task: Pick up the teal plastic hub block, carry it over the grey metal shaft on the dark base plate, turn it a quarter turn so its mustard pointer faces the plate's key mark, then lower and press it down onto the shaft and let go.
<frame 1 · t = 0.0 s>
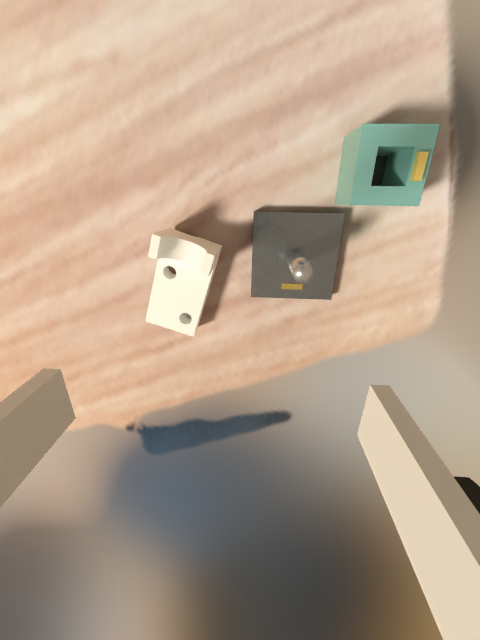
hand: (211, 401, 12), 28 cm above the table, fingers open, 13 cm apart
shaft base: (293, 256, 36), on the table
hub: (369, 172, 32), on the table
bracket: (186, 280, 39), on the table
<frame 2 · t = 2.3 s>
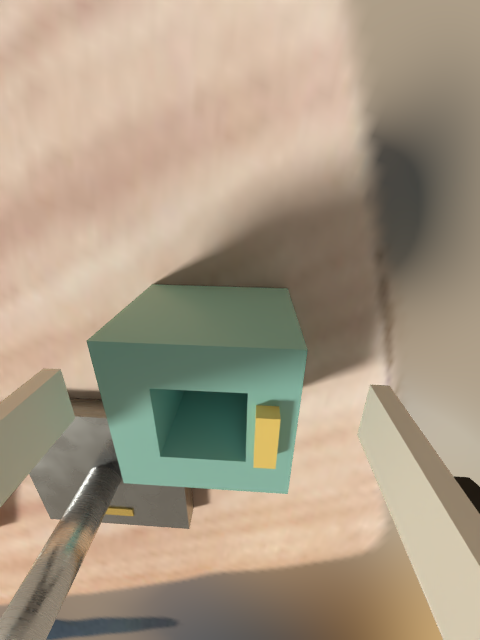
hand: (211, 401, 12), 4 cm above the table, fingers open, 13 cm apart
shaft base: (115, 457, 20), on the table
hub: (220, 345, 15), on the table
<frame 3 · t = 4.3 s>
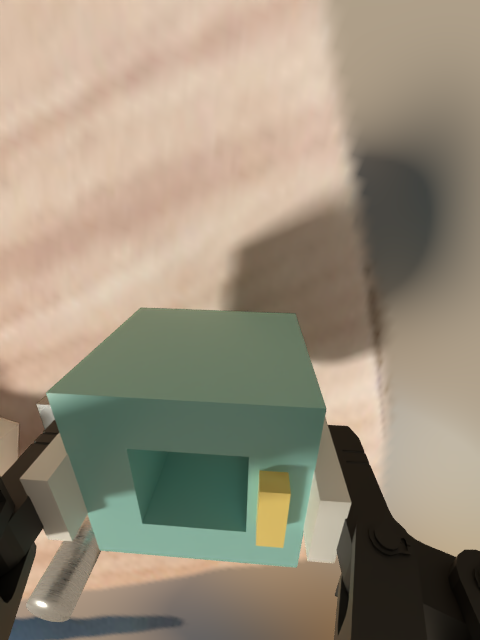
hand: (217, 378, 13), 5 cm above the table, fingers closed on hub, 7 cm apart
shaft base: (133, 450, 22), on the table
hub: (218, 375, 14), point 4 cm above the table, touching gripper
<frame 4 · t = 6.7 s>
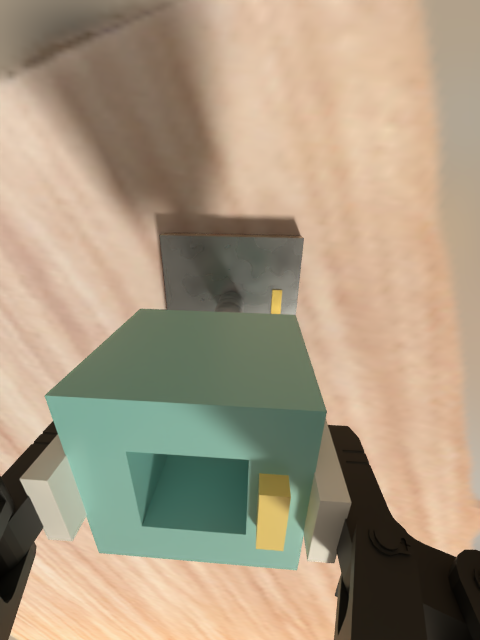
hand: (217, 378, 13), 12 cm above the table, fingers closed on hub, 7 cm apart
shaft base: (232, 298, 24), on the table
hub: (218, 376, 13), point 12 cm above the table, touching gripper
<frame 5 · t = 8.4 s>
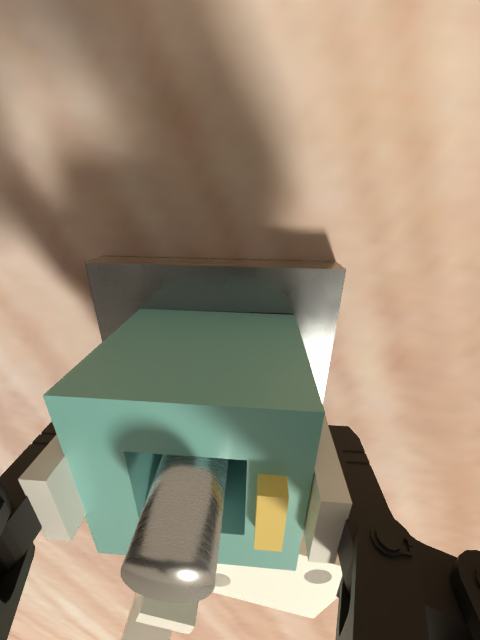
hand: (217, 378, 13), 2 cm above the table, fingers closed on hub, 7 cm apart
shaft base: (219, 358, 15), on the table
hub: (217, 376, 13), point 2 cm above the table, touching gripper, shaft base
bracket: (249, 513, 21), on the table
when the fingers open (2 cm above the table, at t = 8.9 s): hub stays where it is, resting on shaft base.
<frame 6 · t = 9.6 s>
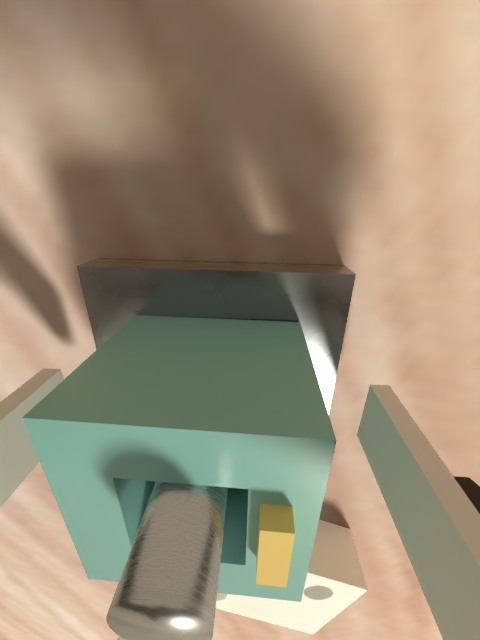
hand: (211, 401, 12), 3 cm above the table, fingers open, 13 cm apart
shaft base: (219, 366, 14), on the table
hub: (217, 386, 13), point 2 cm above the table, touching shaft base
bracket: (247, 523, 20), on the table
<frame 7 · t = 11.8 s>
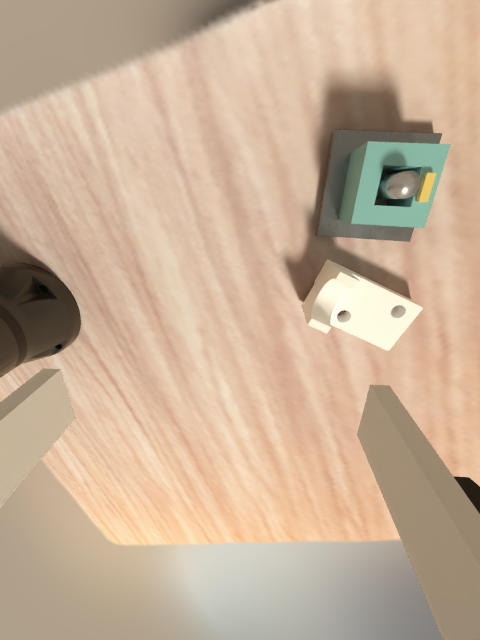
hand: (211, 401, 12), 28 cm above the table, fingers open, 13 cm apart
shaft base: (370, 189, 32), on the table
hub: (375, 189, 31), point 2 cm above the table, touching shaft base
bracket: (353, 300, 38), on the table
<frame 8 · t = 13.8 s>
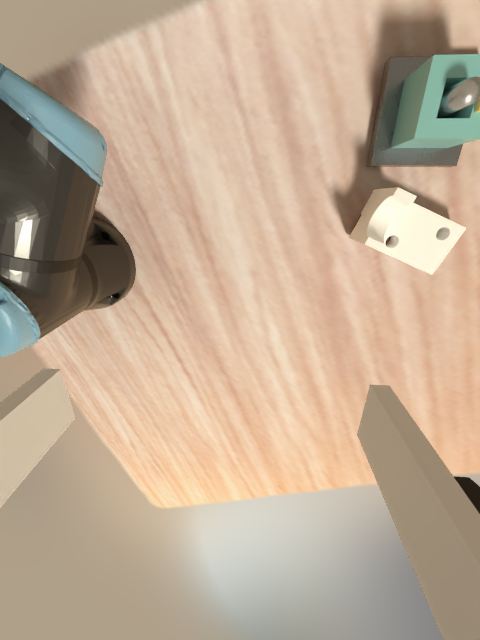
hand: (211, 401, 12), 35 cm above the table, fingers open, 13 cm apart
shaft base: (419, 117, 35), on the table
hub: (426, 115, 33), point 2 cm above the table, touching shaft base
bracket: (396, 231, 41), on the table
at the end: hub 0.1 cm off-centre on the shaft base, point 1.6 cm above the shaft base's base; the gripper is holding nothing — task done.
